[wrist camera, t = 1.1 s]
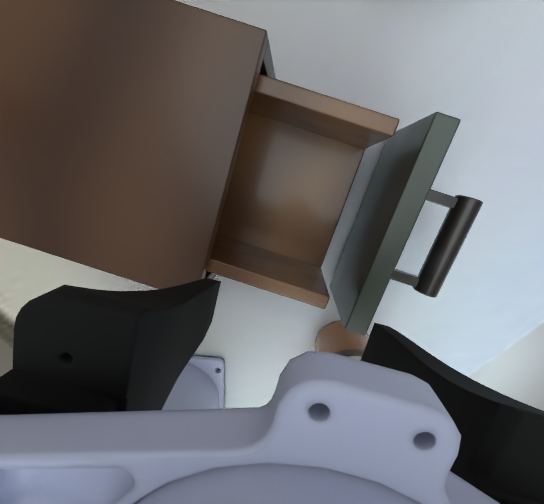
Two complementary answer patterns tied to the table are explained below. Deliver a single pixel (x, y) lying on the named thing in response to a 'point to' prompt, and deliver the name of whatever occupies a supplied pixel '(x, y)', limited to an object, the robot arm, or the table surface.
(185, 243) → the cabinet
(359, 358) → the jar
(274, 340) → the table surface
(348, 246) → the drawer
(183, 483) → the robot arm
